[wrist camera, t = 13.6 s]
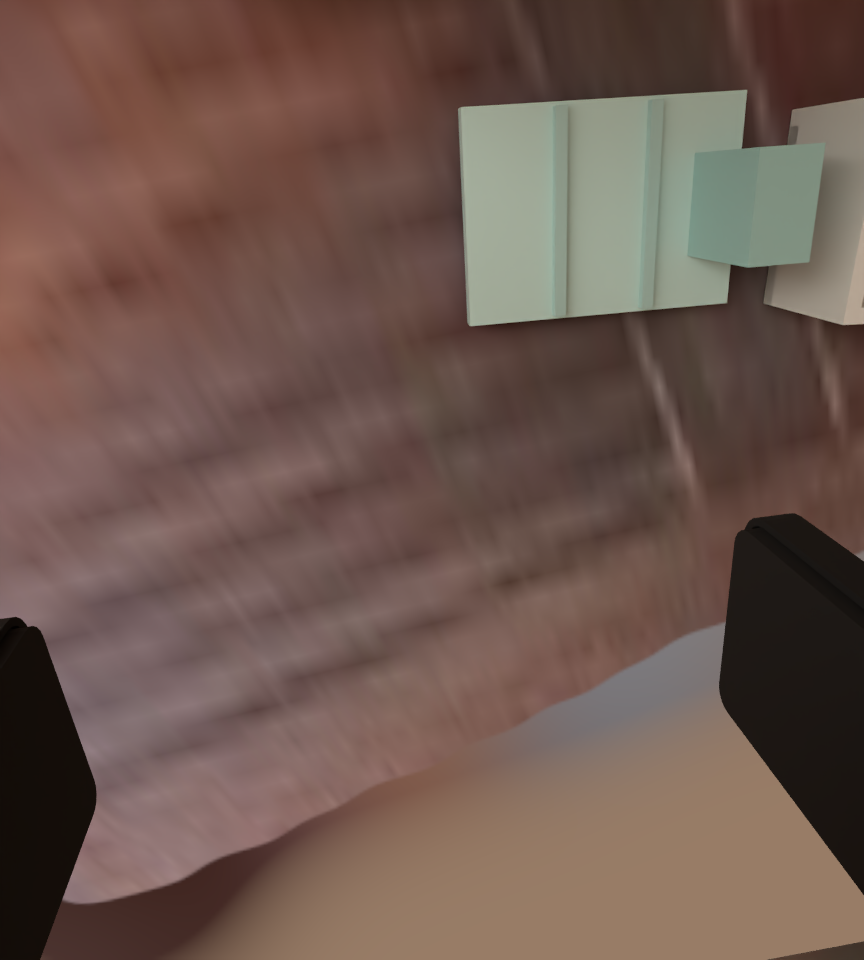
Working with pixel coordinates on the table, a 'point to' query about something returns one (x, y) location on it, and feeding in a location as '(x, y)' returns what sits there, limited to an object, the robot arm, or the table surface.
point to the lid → (624, 204)
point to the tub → (829, 220)
